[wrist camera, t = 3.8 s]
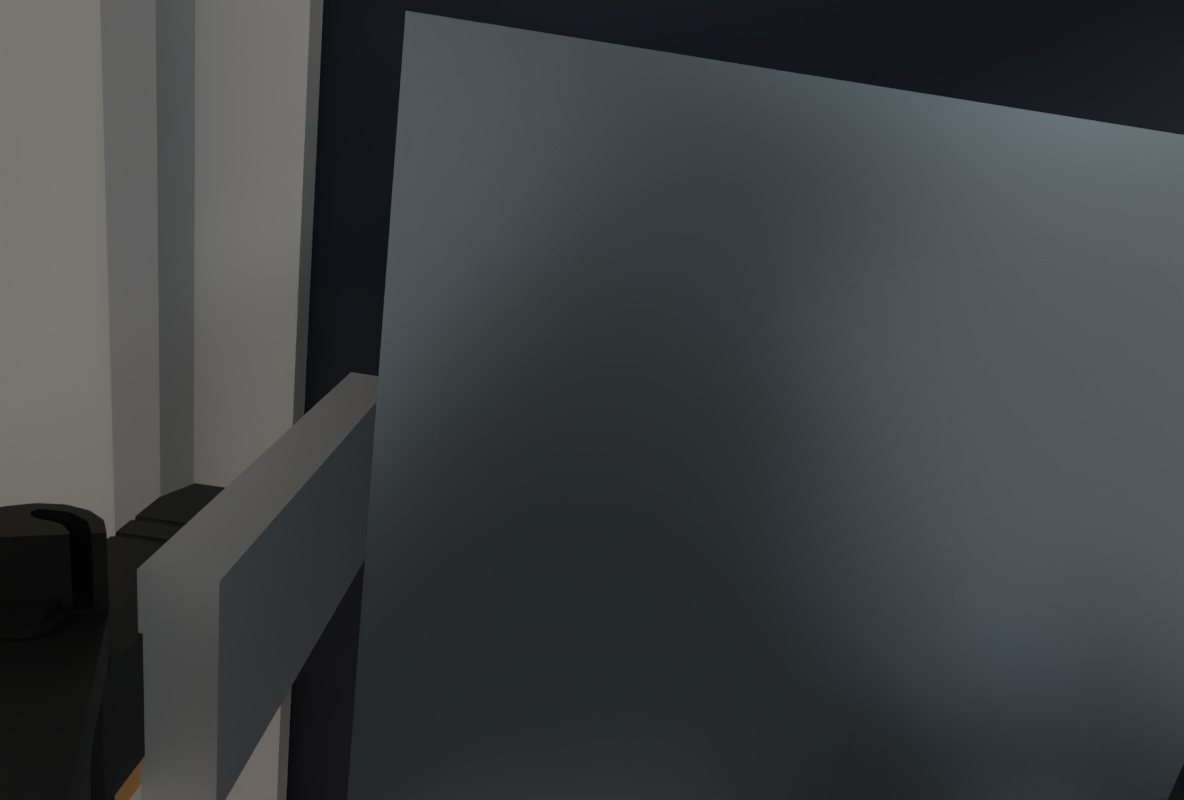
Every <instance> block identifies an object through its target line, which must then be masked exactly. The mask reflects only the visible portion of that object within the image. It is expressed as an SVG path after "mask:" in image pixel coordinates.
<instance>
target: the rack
mask: <svg viewBox="0 0 1184 800" xmlns="http://www.w3.org/2000/svg"><path fill="white" fill-rule="evenodd" d="M322 21H323V0H0V507H2V506H11V505H21V504H31V503H47V504H67V505H71V506H74V507H78V508H82V509H86V510H90V511H91V512H93V513H94V514H96V515H97V516H99V517H100V518H102V519H103V520H104V523H105V527H106V532H107V539H108V538H109V537H110V536H114V537H115V535H116V531H118V530H119V529H120V528H121V527H123V526H124V525H125V524H126V523H128V522H129V521H130V520H135V517H136V515H138V514H139V513H140V512H141V511H142V510H144V509H145V508H146V507H147V506H149V505H150V504H151V503H152V502H154V501H155V500H156V499H157V498H159V497H160V496H163V495H166V494H168V493H171V492H173V491H176V490H178V489H181V488H184V487H186V486H189V485H191V484H194V483H198V484H205V485H211V486H218V487H225V488H226V487H227V486H228V485H229V484H230V483H231V482H232V481H233V480H234V479H235V478H237V477H238V476H239V475H240V474H241V473H242V472H243V471H244V470H245V469H246V468H247V467H248V466H250V465H251V464H252V463H253V462H254V461H255V460H256V459H257V458H258V457H259V456H260V455H262V454H263V453H264V452H265V451H266V450H267V449H268V448H269V447H270V446H271V445H272V444H273V443H275V442H276V441H277V440H278V439H279V438H280V437H281V436H282V435H283V434H284V433H285V432H286V431H288V430H289V429H290V428H291V427H292V426H293V425H294V424H295V423H296V422H297V421H298V420H299V419H301V418H302V417H303V416H304V408H305V387H306V365H307V343H308V322H309V300H310V279H311V257H312V236H313V214H314V193H315V171H316V150H317V128H318V107H319V85H320V64H321V42H322ZM291 688H292V686H291ZM291 688H290V690H289V691H288V693H287V695H286V696H285V698H284V700H283V702H282V703H281V705H280V707H279V708H278V710H277V712H276V714H275V715H274V717H273V719H272V721H271V722H270V724H269V726H268V727H267V729H266V731H265V733H264V734H263V736H262V738H261V740H260V741H259V743H258V745H257V746H256V748H255V750H254V752H253V753H252V755H251V757H250V758H249V760H248V762H247V764H246V765H245V767H244V769H243V771H242V772H241V774H240V776H239V777H238V779H237V781H236V783H235V784H234V786H233V788H232V790H231V791H230V793H229V795H228V796H227V798H226V800H286V795H287V774H288V752H289V731H290V709H291ZM115 800H141V761H140V763H139V764H138V765H137V767H136V768H135V769H134V771H133V772H132V773H131V775H130V776H129V777H128V779H127V780H126V781H125V783H124V784H123V785H122V787H121V788H120V789H119V791H118V792H117V793H116V795H115Z"/></svg>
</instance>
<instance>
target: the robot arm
mask: <svg viewBox="0 0 1184 800" xmlns="http://www.w3.org/2000/svg"><path fill="white" fill-rule="evenodd" d="M377 390H378V376H373V375H366V374H360V373H353V372H351V373H349V374H348V375H347V376H346V377H345V378H344V379H343V380H342V381H341V382H340V383H339V384H337V385H336V386H335V387H334V388H333V389H332V390H331V391H330V392H329V393H328V394H327V395H326V396H324V397H323V398H322V399H321V400H320V401H319V402H318V403H317V404H316V405H315V406H314V407H313V408H311V409H310V410H309V411H308V412H307V413H306V414H305V415H304V416H303V417H302V418H301V419H299V420H298V421H297V422H296V423H295V424H294V425H293V426H292V427H291V428H290V429H289V430H288V431H286V432H285V433H284V434H283V435H282V436H281V437H280V438H279V439H278V440H277V441H276V442H275V443H273V444H272V445H271V446H270V447H269V448H268V449H267V450H266V451H265V452H264V453H263V454H262V455H260V456H259V457H258V458H257V459H256V460H255V461H254V462H253V463H252V464H251V465H250V466H248V467H247V468H246V469H245V470H244V471H243V472H242V473H241V474H240V475H239V476H238V477H237V478H235V479H234V480H233V481H232V482H231V483H230V484H229V485H228V486H227V487H226V488H225V487H218V486H211V485H205V484H198V483H194V484H191V485H189V486H186V487H184V488H181V489H178V490H176V491H173V492H171V493H168V494H166V495H163V496H160V497H159V498H157V499H156V500H155V501H154V502H152V503H151V504H150V505H149V506H147V507H146V508H145V509H144V510H142V511H141V512H140V513H139V514H138V515H136V517H135V520H130V521H129V522H128V523H126V524H125V525H124V526H123V527H121V528H120V529H119V530H118V531H116V535H115V537H114V536H110V537H109V538H108V539H107V532H106V527H105V523H104V520H103V519H102V518H100V517H99V516H97V515H96V514H94V513H93V512H91V511H90V510H86V509H82V508H78V507H74V506H71V505H67V504H47V503H31V504H21V505H11V506H2V507H0V800H115V795H116V793H117V792H118V791H119V789H120V788H121V787H122V785H123V784H124V783H125V781H126V780H127V779H128V777H129V776H130V775H131V773H132V772H133V771H134V769H135V768H136V767H137V765H138V764H139V763H140V761H141V800H226V798H227V796H228V795H229V793H230V791H231V790H232V788H233V786H234V784H235V783H236V781H237V779H238V777H239V776H240V774H241V772H242V771H243V769H244V767H245V765H246V764H247V762H248V760H249V758H250V757H251V755H252V753H253V752H254V750H255V748H256V746H257V745H258V743H259V741H260V740H261V738H262V736H263V734H264V733H265V731H266V729H267V727H268V726H269V724H270V722H271V721H272V719H273V717H274V715H275V714H276V712H277V710H278V708H279V707H280V705H281V703H282V702H283V700H284V698H285V696H286V695H287V693H288V691H289V690H290V688H291V686H292V684H293V683H294V681H295V679H296V677H297V676H298V674H299V672H300V671H301V669H302V667H303V665H304V664H305V662H306V660H307V659H308V657H309V655H310V653H311V652H312V650H313V648H314V646H315V645H316V643H317V641H318V640H319V638H320V636H321V634H322V633H323V631H324V629H325V627H326V626H327V624H328V622H329V621H330V619H331V617H332V615H333V614H334V612H335V610H336V609H337V607H338V605H339V603H340V602H341V600H342V598H343V596H344V595H345V593H346V591H347V590H348V588H349V586H350V584H351V583H352V581H353V579H354V577H355V576H356V574H357V572H358V571H359V569H360V567H361V565H362V564H363V562H364V560H365V551H366V538H367V524H368V511H369V497H370V484H371V470H372V457H373V444H374V430H375V417H376V403H377ZM1168 800H1184V764H1183V766H1182V769H1181V771H1180V773H1179V775H1178V778H1177V780H1176V782H1175V784H1174V786H1173V789H1172V791H1171V793H1170V795H1169V798H1168Z"/></svg>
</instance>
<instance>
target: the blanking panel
mask: <svg viewBox="0 0 1184 800" xmlns="http://www.w3.org/2000/svg"><path fill="white" fill-rule="evenodd" d="M1183 764H1184V135H1180V134H1174V133H1168V132H1161V131H1155V130H1149V129H1143V128H1136V127H1130V126H1124V125H1118V124H1111V123H1105V122H1099V121H1093V120H1086V119H1080V118H1074V117H1068V116H1061V115H1055V114H1049V113H1043V112H1036V111H1030V110H1024V109H1018V108H1011V107H1005V106H999V105H993V104H986V103H980V102H974V101H968V100H961V99H955V98H949V97H943V96H936V95H930V94H924V93H918V92H911V91H905V90H899V89H893V88H886V87H880V86H874V85H868V84H861V83H855V82H849V81H843V80H836V79H830V78H824V77H818V76H811V75H805V74H799V73H793V72H786V71H780V70H774V69H768V68H761V67H755V66H749V65H743V64H736V63H730V62H724V61H718V60H711V59H705V58H699V57H693V56H686V55H680V54H674V53H668V52H661V51H655V50H649V49H643V48H636V47H630V46H624V45H618V44H611V43H605V42H599V41H593V40H586V39H580V38H574V37H568V36H561V35H555V34H549V33H543V32H536V31H530V30H524V29H518V28H511V27H505V26H499V25H493V24H486V23H480V22H474V21H468V20H461V19H455V18H449V17H442V16H436V15H430V14H424V13H417V12H411V11H406V13H405V27H404V40H403V54H402V67H401V80H400V94H399V107H398V121H397V134H396V148H395V161H394V175H393V188H392V202H391V215H390V228H389V242H388V255H387V269H386V282H385V296H384V309H383V323H382V336H381V349H380V363H379V376H378V390H377V403H376V417H375V430H374V444H373V457H372V470H371V484H370V497H369V511H368V524H367V538H366V551H365V565H364V578H363V592H362V605H361V618H360V632H359V645H358V659H357V672H356V686H355V699H354V713H353V726H352V739H351V753H350V766H349V780H348V793H347V800H1168V798H1169V795H1170V793H1171V791H1172V789H1173V786H1174V784H1175V782H1176V780H1177V778H1178V775H1179V773H1180V771H1181V769H1182V766H1183Z"/></svg>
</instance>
